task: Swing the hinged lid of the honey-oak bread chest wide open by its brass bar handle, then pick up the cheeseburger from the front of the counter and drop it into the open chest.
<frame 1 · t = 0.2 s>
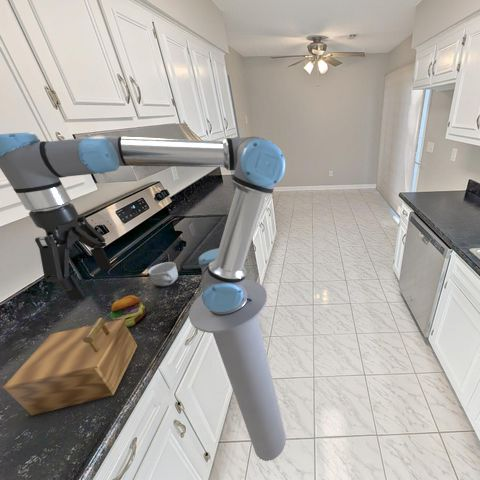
hand: (93, 282, 67), 29 cm above the worktop, tool pointing down, fingers open, 13 cm apart
chest: (91, 376, 75), on the worktop
teacup: (168, 283, 115), on the worktop
cheeseburger: (131, 318, 96), on the worktop
lid: (67, 342, 68), point 14 cm above the worktop, hinge at 0.0°
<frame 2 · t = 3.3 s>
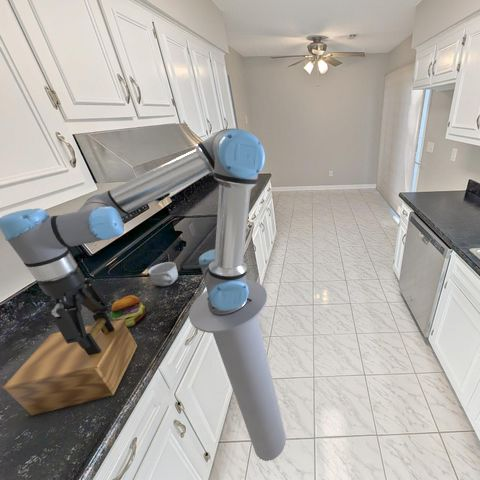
hand: (102, 341, 71), 12 cm above the worktop, tool pointing down, fingers closed on lid, 7 cm apart
lid: (67, 342, 68), point 14 cm above the worktop, hinge at -0.1°, touching gripper
everything else where it was.
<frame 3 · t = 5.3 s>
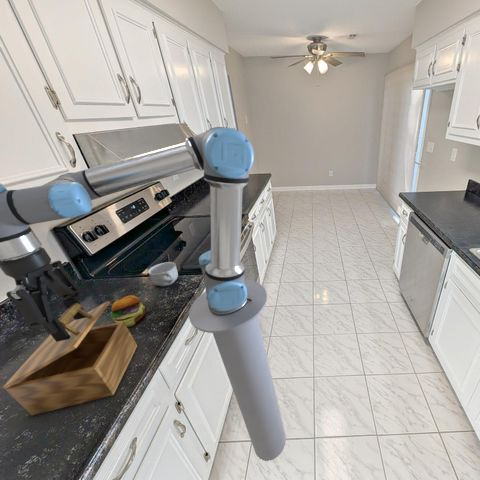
hand: (72, 327, 67), 19 cm above the worktop, tool pointing down, fingers closed on lid, 7 cm apart
lid: (52, 334, 66), point 18 cm above the worktop, hinge at 23.1°, touching gripper
everything else where it was.
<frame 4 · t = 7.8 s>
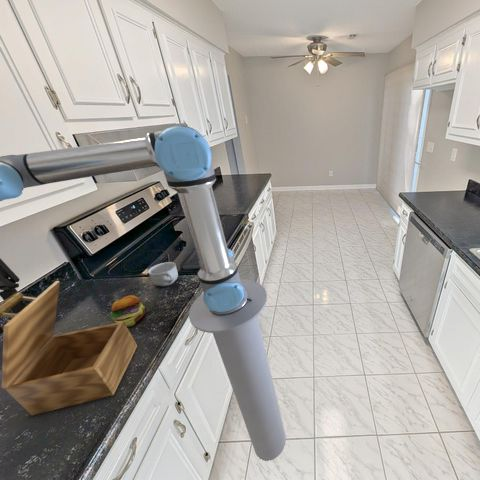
hand: (9, 321, 62), 24 cm above the worktop, tool pointing down, fingers closed on lid, 7 cm apart
lid: (17, 329, 64), point 21 cm above the worktop, hinge at 61.1°, touching gripper
everything else where it was.
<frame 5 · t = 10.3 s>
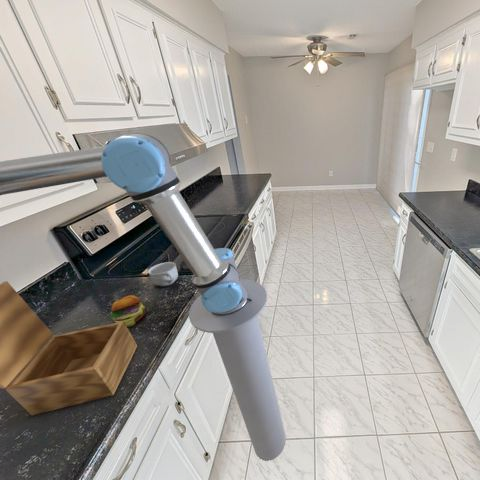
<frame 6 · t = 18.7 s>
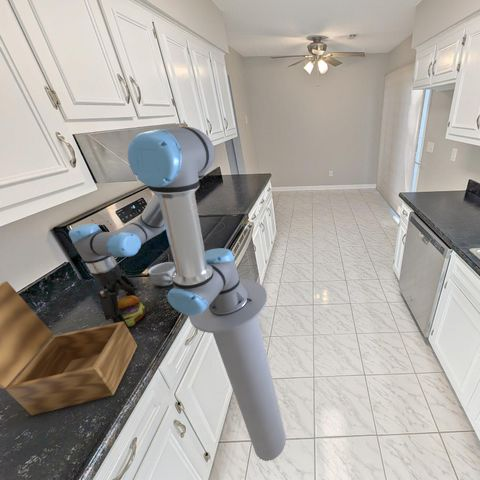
hand: (130, 316, 96), 1 cm above the worktop, tool pointing down, fingers closed on cheeseburger, 11 cm apart
cheeseburger: (131, 318, 96), on the worktop, touching gripper
when the fingers open (11 cm above the worktop, at t = 30.6 s): cheeseburger drops 9 cm, resting on chest.
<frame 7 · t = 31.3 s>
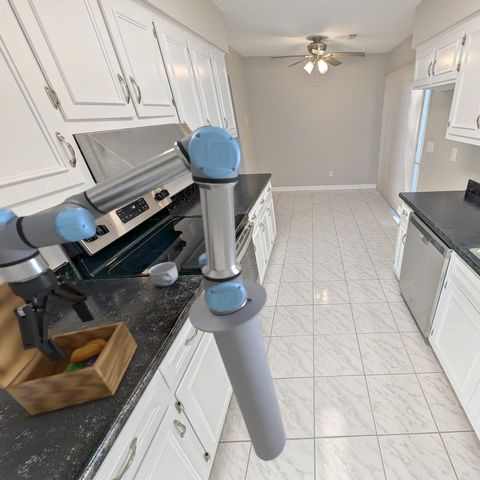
hand: (75, 338, 69), 14 cm above the worktop, tool pointing down, fingers open, 13 cm apart
cheeseburger: (98, 368, 76), point 1 cm above the worktop, touching chest
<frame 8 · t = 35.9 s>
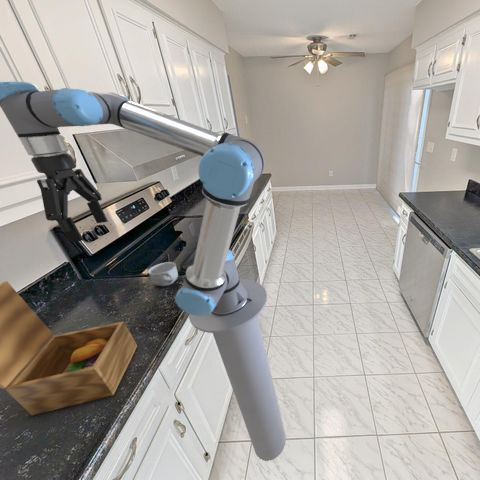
hand: (90, 230, 73), 39 cm above the worktop, tool pointing down, fingers open, 13 cm apart
at the end: lid at +93° (first picture: +0°); cheeseburger inside the target area in the chest (2.2 cm from its centre), point 0.8 cm above the chest's base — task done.
